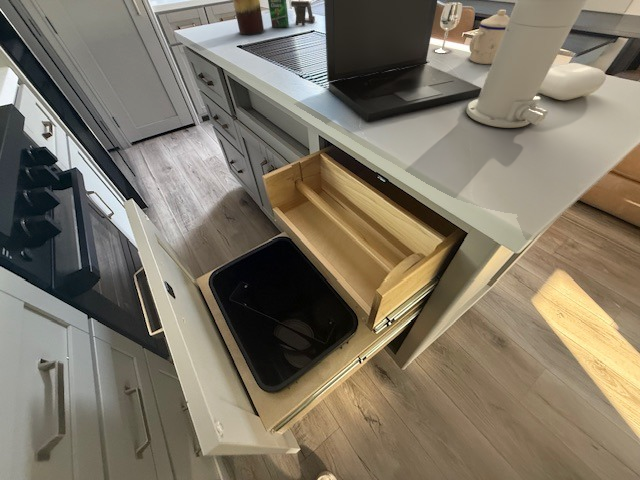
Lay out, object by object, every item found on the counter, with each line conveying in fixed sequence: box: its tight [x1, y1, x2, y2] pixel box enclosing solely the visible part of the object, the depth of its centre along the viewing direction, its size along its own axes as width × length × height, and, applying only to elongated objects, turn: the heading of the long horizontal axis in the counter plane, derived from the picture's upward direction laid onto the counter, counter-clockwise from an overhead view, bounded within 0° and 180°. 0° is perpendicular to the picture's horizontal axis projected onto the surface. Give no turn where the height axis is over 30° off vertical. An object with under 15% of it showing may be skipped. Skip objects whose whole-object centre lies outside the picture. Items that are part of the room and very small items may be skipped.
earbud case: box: [537, 62, 607, 101], centre depth 61 cm, size 10×13×5 cm
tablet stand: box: [290, 0, 316, 26], centre depth 124 cm, size 9×8×8 cm
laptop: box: [328, 63, 483, 123], centre depth 66 cm, size 21×30×2 cm
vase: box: [232, 0, 265, 36], centre depth 112 cm, size 11×11×20 cm
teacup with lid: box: [469, 9, 510, 65], centre depth 77 cm, size 12×9×12 cm
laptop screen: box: [323, 0, 438, 83], centre depth 65 cm, size 21×30×1 cm
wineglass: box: [434, 1, 463, 54], centre depth 84 cm, size 6×6×12 cm
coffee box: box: [267, 0, 290, 29], centre depth 119 cm, size 8×3×13 cm, turn 70°
